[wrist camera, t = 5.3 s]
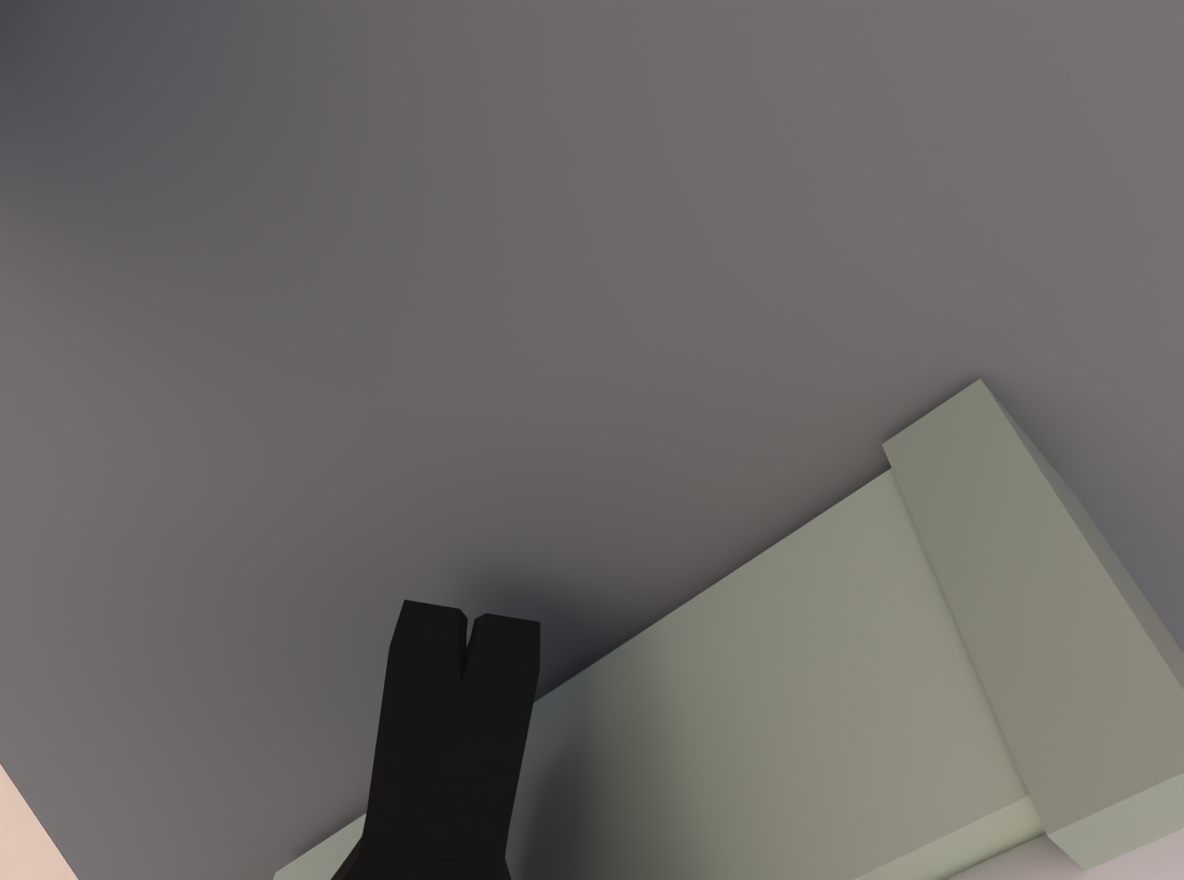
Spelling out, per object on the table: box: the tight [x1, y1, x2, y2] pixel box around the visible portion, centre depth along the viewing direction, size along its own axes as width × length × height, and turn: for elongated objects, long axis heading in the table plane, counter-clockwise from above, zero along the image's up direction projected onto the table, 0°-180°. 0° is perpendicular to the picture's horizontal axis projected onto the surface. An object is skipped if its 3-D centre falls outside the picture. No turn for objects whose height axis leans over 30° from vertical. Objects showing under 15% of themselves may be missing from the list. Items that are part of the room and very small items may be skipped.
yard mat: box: [0, 0, 1184, 880], centre depth 11 cm, size 22×19×1 cm
